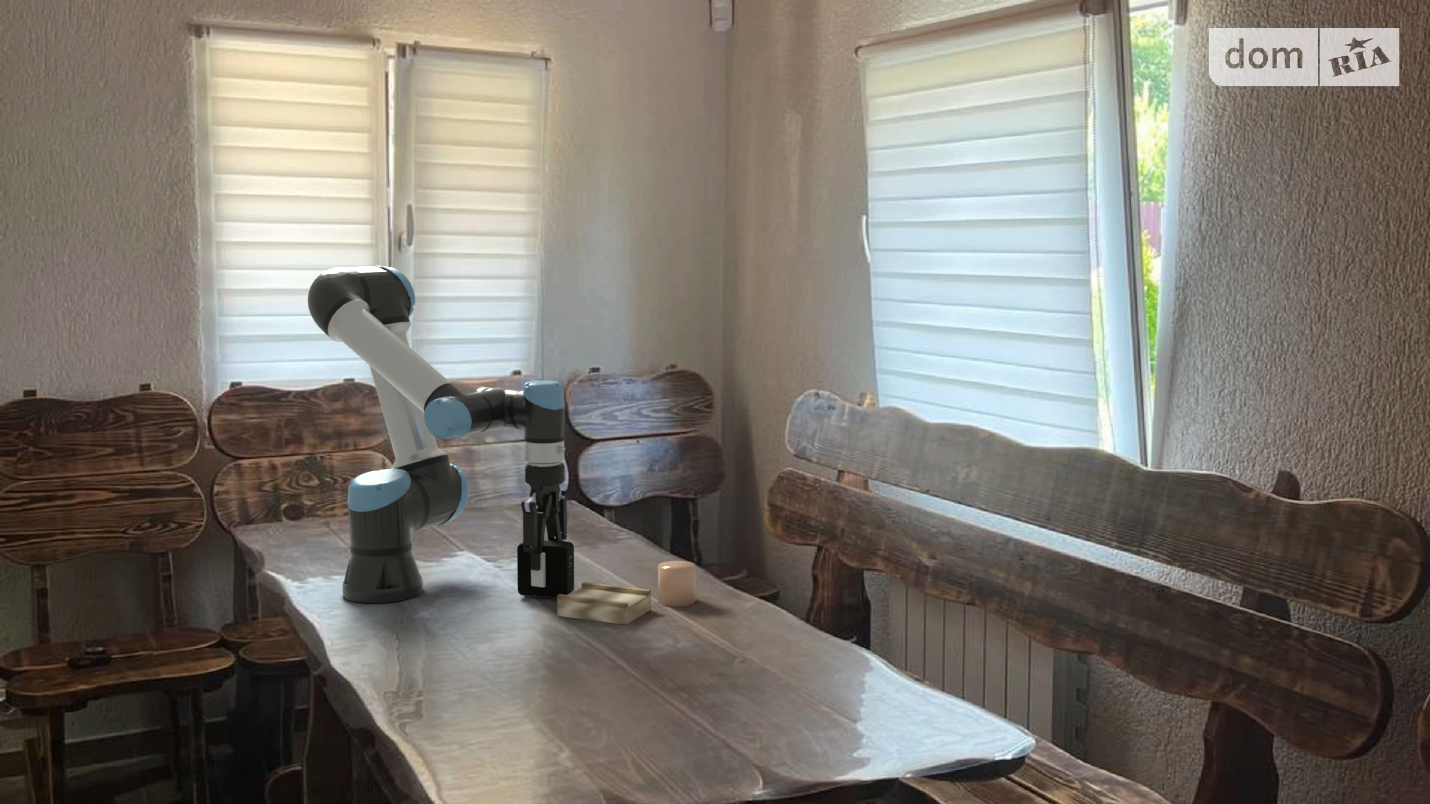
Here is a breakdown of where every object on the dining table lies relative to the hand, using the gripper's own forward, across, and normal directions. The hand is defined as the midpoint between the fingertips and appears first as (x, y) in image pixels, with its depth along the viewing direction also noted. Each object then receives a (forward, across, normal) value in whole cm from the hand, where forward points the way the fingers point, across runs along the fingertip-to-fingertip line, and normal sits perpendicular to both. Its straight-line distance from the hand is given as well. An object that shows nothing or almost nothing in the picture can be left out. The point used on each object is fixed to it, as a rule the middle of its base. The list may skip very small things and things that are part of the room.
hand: (545, 582), depth 250 cm
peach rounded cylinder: (+3, +7, -24) cm, 26 cm away
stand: (+3, -5, -15) cm, 16 cm away
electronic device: (+3, 0, 0) cm, 3 cm away
